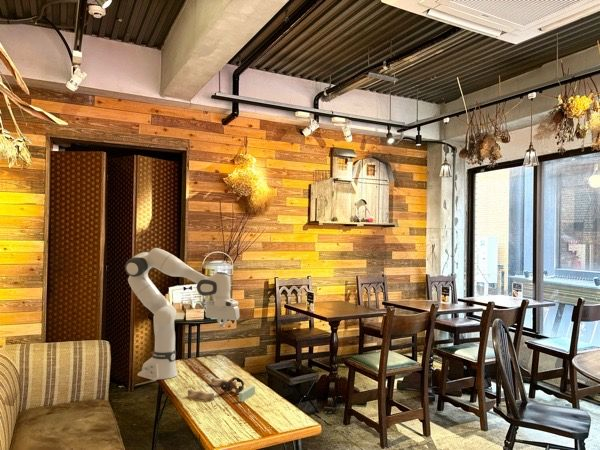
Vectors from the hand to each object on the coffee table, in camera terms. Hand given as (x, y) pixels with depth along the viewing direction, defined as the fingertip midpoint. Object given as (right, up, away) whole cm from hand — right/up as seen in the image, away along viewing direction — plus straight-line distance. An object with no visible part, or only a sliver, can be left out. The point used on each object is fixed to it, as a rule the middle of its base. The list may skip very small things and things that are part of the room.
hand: (222, 327), depth 249 cm
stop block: (+17, -29, -27) cm, 43 cm away
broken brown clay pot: (+8, -29, -19) cm, 36 cm away
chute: (-2, -29, -19) cm, 34 cm away
